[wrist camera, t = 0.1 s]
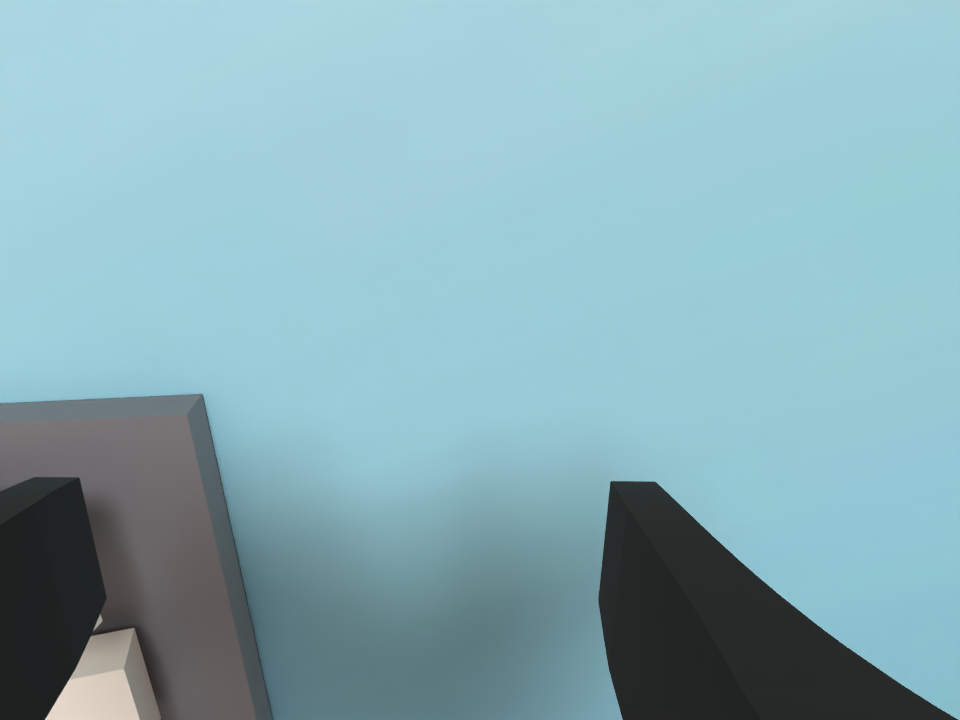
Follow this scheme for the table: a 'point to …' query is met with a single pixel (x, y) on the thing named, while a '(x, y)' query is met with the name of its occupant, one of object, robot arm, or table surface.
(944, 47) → the table surface
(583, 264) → the table surface
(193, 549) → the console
